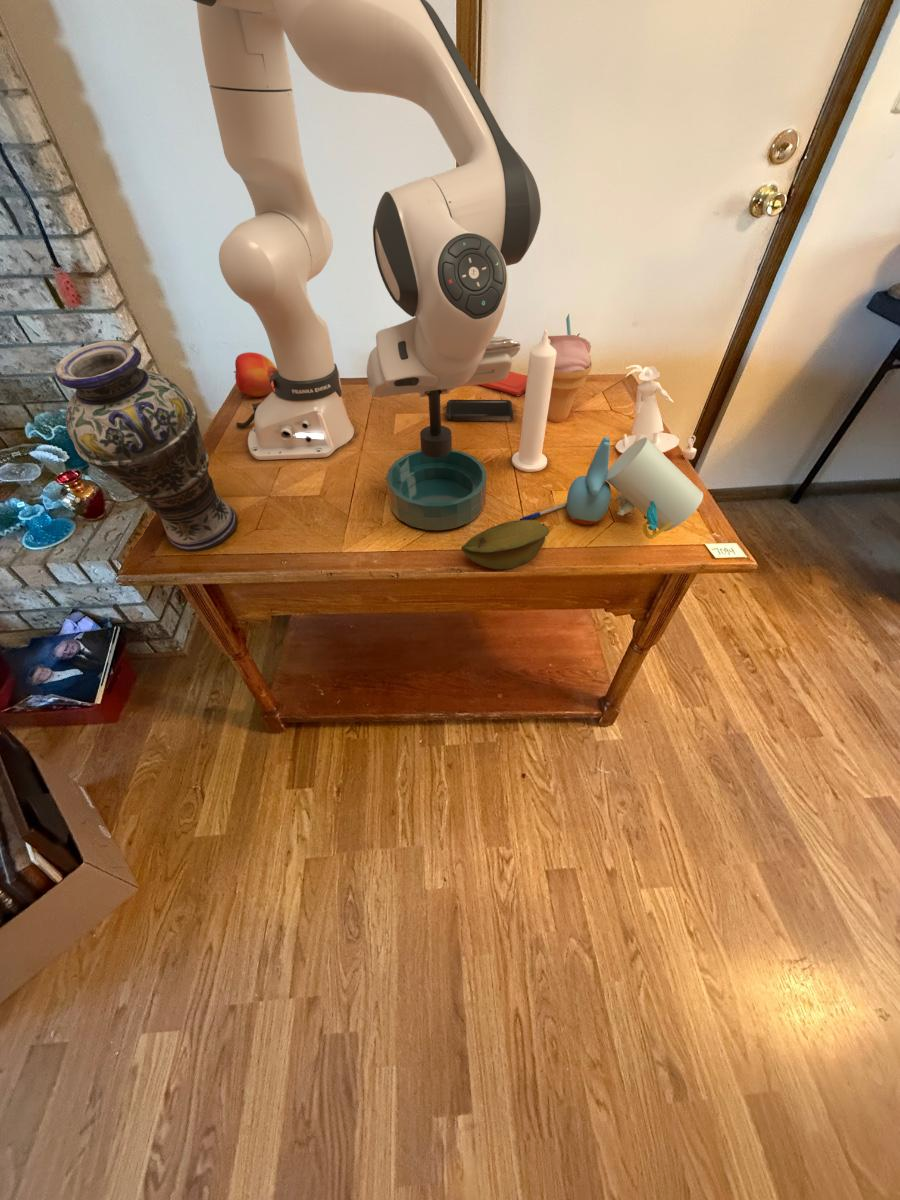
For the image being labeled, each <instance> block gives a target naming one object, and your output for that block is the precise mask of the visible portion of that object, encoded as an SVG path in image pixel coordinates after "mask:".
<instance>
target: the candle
mask: <svg viewBox="0 0 900 1200" xmlns="http://www.w3.org/2000/svg"><path fill="white" fill-rule="evenodd" d="M548 336H549V333H548V330H547V329H544V331H543V334H542V336H541V339H540V341H539V343H537V344H536V345H534V346H533V347H532V348H531V349H530V350H529V357H528V365H527V366H528V367H527V375H526V376H527V384H526V391H525V392H524V393H525V395H524V403H523V412H522V421H521V431H520V440H519V450H518V451H516V452H515V453H513V455H512V456H511V464H512V466H513V467H514V468H515V469H517V470H518V471H522V472H526V473H537V472H539V471H543V470H544V469H545V468H546V466H547V465H548V459H547V457H546V455H545V454H544V453H543V449H544V441H545V434H546V430H547V429H546V428H547V421H548V419H547V415H548V408H549V401H550V395H551V388H552V381H553V374H554V368H555V361H556V354H557V352H556V350H555V349H554V348H553V347H552V346H551V345H550V340H549V339H548Z"/></svg>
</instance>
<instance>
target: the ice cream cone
mask: <svg viewBox="0 0 900 1200" xmlns="http://www.w3.org/2000/svg"><path fill="white" fill-rule="evenodd" d="M570 319H571V318H570V313H568V314H567V316H566V319H565V323H566V333H567V334H564V335H560V334H559V335H548V340H549V344H550V345H551V346H552V347H553V348H554V349H555V350H556V352H557V354H556V361H555V368H554V374H553V381H552V388H551V395H550V401H549V408H548V415H547V421H549V422H553V423H562V422H565V421H566V420H567V418H569V415H570V413H571V410H572V406H573V404H574V401H575V396H576V394H577V392H578V390H579V389H580V388H581V387H582V386H584V384H585V383H586V380H587V376H588V375H589V374H590V373H591V371H592V367H593V366H592V365H593V364H592V359H591V354H590V353H591V348H592V347H591V343H590V341H588V340H587V339H586V338H584V337H582V336H580V335H581V333H578V334H577V335H575V334H572V332H571V331H572V330H571V320H570Z"/></svg>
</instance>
